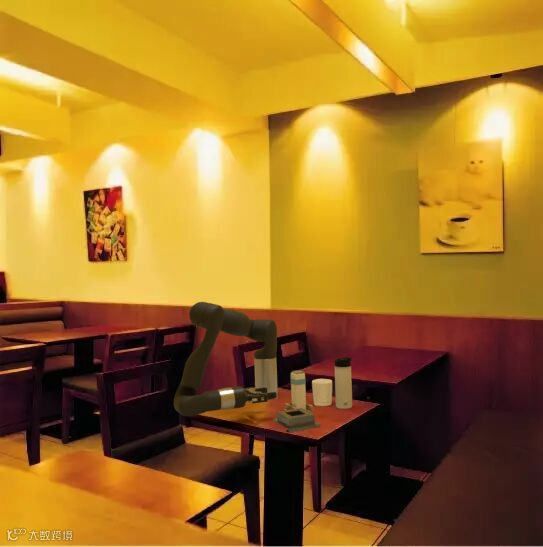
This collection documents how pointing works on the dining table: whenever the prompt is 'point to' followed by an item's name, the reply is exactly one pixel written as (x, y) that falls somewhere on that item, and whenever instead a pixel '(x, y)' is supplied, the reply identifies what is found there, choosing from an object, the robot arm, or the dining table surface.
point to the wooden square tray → (289, 407)
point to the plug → (298, 389)
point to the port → (296, 420)
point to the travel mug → (343, 383)
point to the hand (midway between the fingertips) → (271, 392)
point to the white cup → (322, 392)
